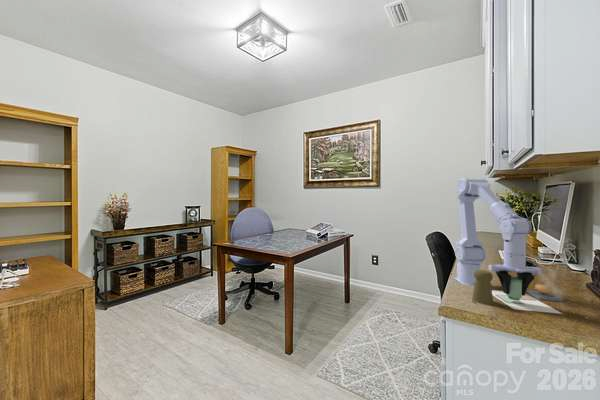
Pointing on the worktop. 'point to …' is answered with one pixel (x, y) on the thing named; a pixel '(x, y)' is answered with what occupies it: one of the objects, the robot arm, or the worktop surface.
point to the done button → (543, 288)
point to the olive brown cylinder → (482, 287)
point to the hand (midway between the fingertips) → (513, 293)
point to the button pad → (544, 296)
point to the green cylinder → (515, 288)
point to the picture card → (524, 303)
